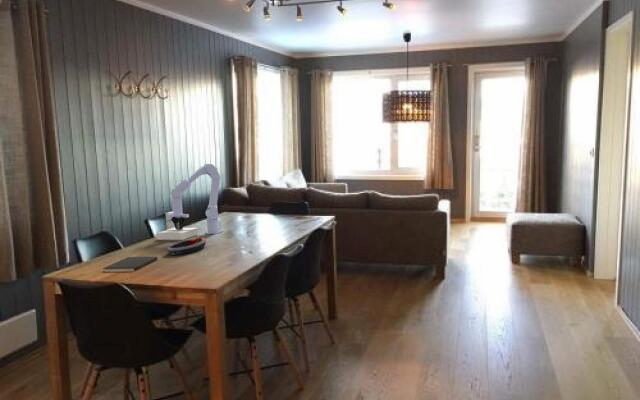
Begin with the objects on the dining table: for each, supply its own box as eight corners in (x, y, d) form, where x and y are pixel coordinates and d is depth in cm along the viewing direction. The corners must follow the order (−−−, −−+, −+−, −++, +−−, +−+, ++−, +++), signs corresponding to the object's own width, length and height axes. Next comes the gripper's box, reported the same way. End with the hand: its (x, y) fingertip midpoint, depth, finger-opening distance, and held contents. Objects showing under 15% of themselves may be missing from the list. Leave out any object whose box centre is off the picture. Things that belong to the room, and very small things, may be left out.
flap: (174, 228, 344) (173, 221, 343) (197, 228, 337) (197, 221, 337) (166, 230, 337) (165, 223, 336) (190, 230, 330) (190, 223, 330)
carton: (173, 235, 343) (172, 228, 343) (197, 235, 337) (196, 228, 336) (157, 240, 328) (156, 232, 328) (182, 240, 322) (181, 233, 321)
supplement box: (166, 231, 359) (164, 213, 357) (173, 229, 366) (171, 211, 364) (175, 231, 356) (174, 213, 354) (182, 229, 363) (180, 211, 361)
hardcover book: (103, 273, 252) (102, 268, 252) (128, 261, 274) (128, 257, 274) (134, 272, 249) (134, 267, 249) (157, 261, 272) (157, 256, 271)
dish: (158, 256, 281) (157, 247, 280) (193, 244, 309) (192, 235, 309) (183, 257, 275) (182, 247, 275) (216, 245, 304) (215, 236, 303)
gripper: (163, 208, 331) (165, 230, 333) (183, 208, 326) (185, 230, 328) (170, 206, 338) (172, 228, 340) (190, 206, 333) (191, 228, 334)
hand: (179, 229), depth 334 cm, fingers closed on flap, 2 cm apart
